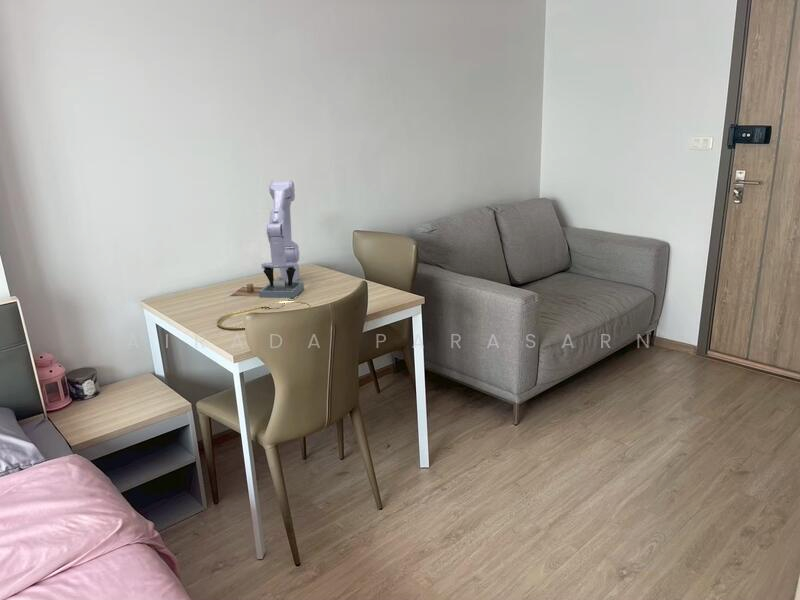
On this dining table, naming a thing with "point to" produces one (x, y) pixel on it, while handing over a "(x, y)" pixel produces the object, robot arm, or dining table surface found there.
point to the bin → (296, 287)
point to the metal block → (281, 284)
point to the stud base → (244, 292)
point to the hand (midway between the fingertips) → (281, 285)
